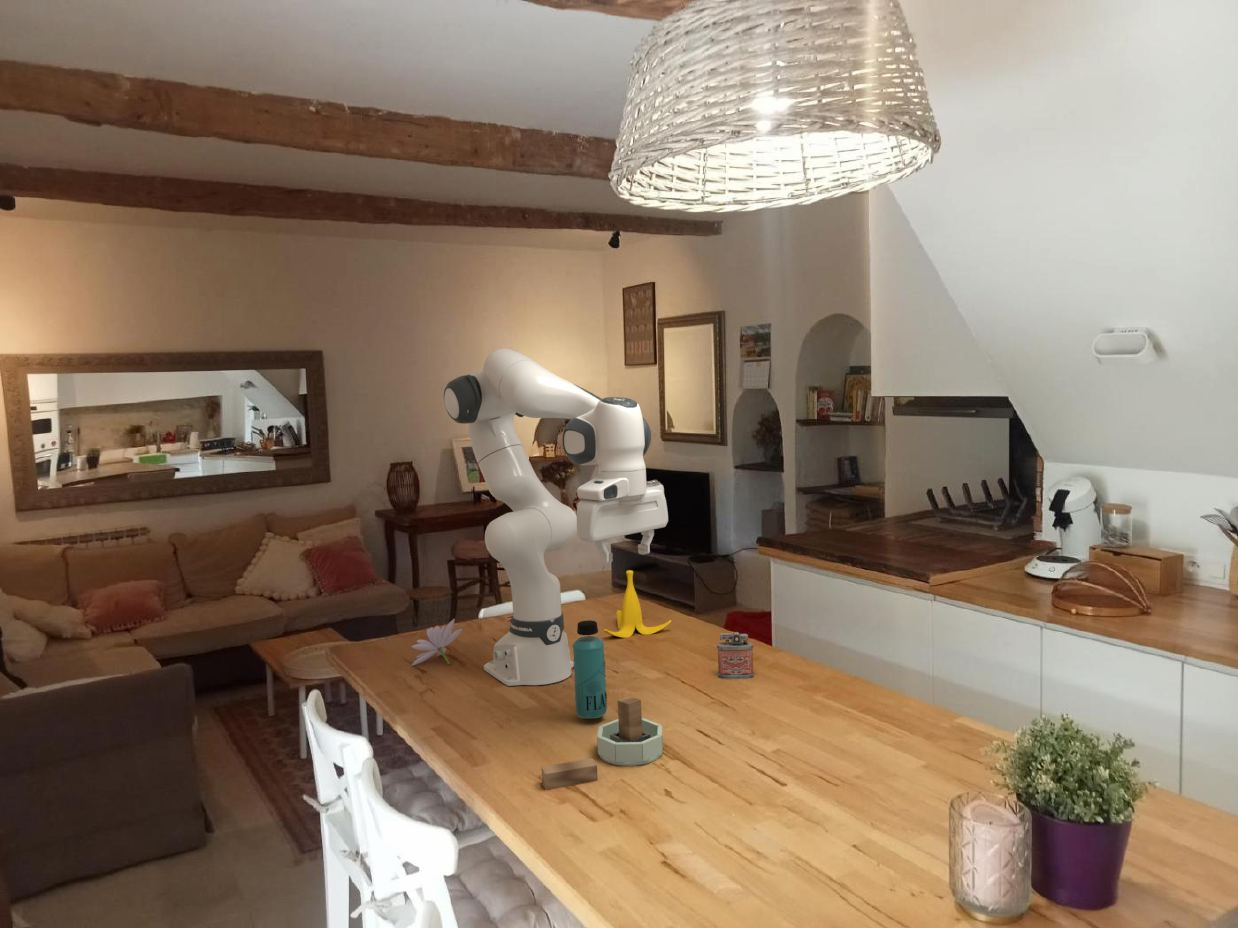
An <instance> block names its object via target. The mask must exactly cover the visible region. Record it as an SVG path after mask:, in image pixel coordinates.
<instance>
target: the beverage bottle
mask: <svg viewBox="0 0 1238 928" xmlns="http://www.w3.org/2000/svg"><path fill="white" fill-rule="evenodd" d="M576 632H577V633H576V634H577V635H580V636H581V637H578V638H577V639H576V640H575V641H574V642H573V644H572V653H573V663H574V666H573V670H574V671H573V672H574V673H573V674H574V697H575V698H574V701H575V703H574V704H575V713H576V715H577V716H578V717H579V718H582V719H597V718H601V717H603V716H605V715H606V714H607V710H608V702H607V701H608V695H607V691H608V690H607V680H606V661H605V651H604V649H605V648H604V646H605V644H604V642H603V641H602V640H601V639H600V638H599V637H598V636H595V635H596V634H598V632H599V629H598V622H597V621H595V620H591V619H590V620H582V621H579V622H577V629H576ZM593 635H594V636H593Z"/></svg>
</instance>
